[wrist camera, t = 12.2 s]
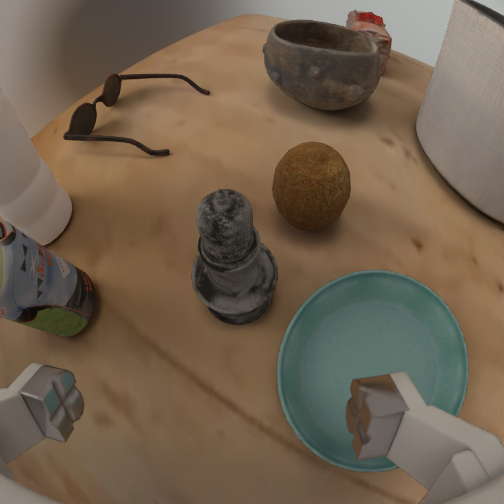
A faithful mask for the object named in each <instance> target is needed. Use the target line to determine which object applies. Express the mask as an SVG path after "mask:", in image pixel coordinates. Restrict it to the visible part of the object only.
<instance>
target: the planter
mask: <svg viewBox="0 0 504 504" xmlns="http://www.w3.org/2000/svg"><path fill="white" fill-rule="evenodd" d="M416 132H417V136H418V139H419V142H420V144H421V147H422V149H423V151H424V152H425V154H426V156H427V157H428V159H429V160H430V162H431V163H432V165H433V166H434V168H435V169H436V170H437V172H438V173H439V174H440V176H441V177H442V178H443V179H444V180H445V181H446V182H447V183H448V184H449V185H450V186H451V187H452V189H453V190H454V191H455V192H456V193H457V194H459V195H460V196H461V197H462V198H463V199H464V200H466V201H467V202H468V203H469V204H471V205H472V206H473V207H475V208H476V209H477V210H479V211H480V212H482V213H483V214H485V215H487V216H489V217H490V218H492V219H494V220H496V221H498V222H501V223H503V224H504V16H503V15H501V14H499V13H498V12H496V11H494V10H492V9H490V8H488V7H486V6H484V5H482V4H480V3H478V2H475V1H473V0H454V4H453V9H452V12H451V16H450V20H449V23H448V27H447V30H446V34H445V37H444V41H443V44H442V47H441V50H440V53H439V56H438V59H437V62H436V65H435V68H434V71H433V74H432V76H431V79H430V82H429V85H428V87H427V90H426V93H425V95H424V98H423V101H422V103H421V106H420V109H419V112H418V115H417V120H416Z"/></svg>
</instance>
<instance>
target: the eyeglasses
mask: <svg viewBox="0 0 504 504" xmlns="http://www.w3.org/2000/svg"><path fill="white" fill-rule="evenodd" d="M145 78H179V79H183V80H185V81H186V82H187V83H189V84H190V85H191V86H192V87H194V88H195V89H196V90H197V91H199V92H201V93H203V94H206V95H209V94H210V92H209V91H207V90H205V89H202V88H200V87H199V86H197V85H196V84H195V83H194V82H193V81H191V80H190V79H189V78H187V77H185V76H183V75H178V74H130V75H120V76H119V75H118V74H111V75H110V76H109V77H108V78H107V80H106V82H105V84H104V88H103V92H102V95H101V96H99V97H98V98H96V99H95V101H94V102H93V104H90V103H84V104H82V105H80V106H79V107H78V108H77V109H76V110H75V111H74V113H73V115H72V118H71V122H70V127H69V130H68V131H67V132H66V133H65V134H64V136H63V138H64V139H65V140H81V141H115V142H125V143H130V144H133V145H135V146H137V147H138V148H140V149H141V150H143V151H144V152H146V153H148V154H149V155H153V156H159V155H167V154H169V150H168V149H165V150H151V149H149V148H147V147H146V146H144V145H143V144H141V143H139V142H138V141H135V140H133V139H130V138H124V137H113V136H99V135H89V134H90V133H91V132H92V130H93V128H94V126H95V123H96V118H97V112H96V103H97V102H100V101H101V102H103V103H104V104H105V105H106V106H107V107H111V106H113V105H114V104H115V103H116V101H117V99H118V97H119V94H120V89H121V81H122V79H123V80H127V79H145Z"/></svg>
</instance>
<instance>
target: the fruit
mask: <svg viewBox="0 0 504 504" xmlns="http://www.w3.org/2000/svg"><path fill="white" fill-rule="evenodd" d="M272 191H273V197H274V199H275V202H276V205H277V208H278V210H279V212H280V213H281V214H282V215H283V216H284V218H285V219H286V220H287V221H288V222H289V223H290V224H292V225H294V226H296V227H298V228H300V229H305V230H315V229H320V228H323V227H325V226H327V225H329V224H330V223H332V222H333V221H335V220H336V219H337V218H338V217H339V216H340V215H341V213H342V211H343V210H344V208H345V206H346V204H347V202H348V200H349V197H350V192H351V186H350V172H349V169H348V167H347V165H346V163H345V161H344V160H343V158H342V156H341V155H340V154H339V153H338V152H337V151H336V150H334V149H333V148H332V147H330V146H328V145H325V144H323V143H317V142H307V143H302V144H300V145H298V146H296V147H294V148H292V149H290V150H289V151H288V152H287V153H286V154H285V155H284V157H283V158H282V159H281V160H280V162H279V163H278V165H277V167H276V169H275V174H274V180H273V187H272Z"/></svg>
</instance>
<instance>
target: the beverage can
mask: <svg viewBox="0 0 504 504" xmlns="http://www.w3.org/2000/svg"><path fill="white" fill-rule="evenodd" d="M94 300H95V295H94V288H93V284H92V282H91V280H90V278H89V276H88V275H87V274H86V273H85V272H83V271H82V270H80V269H78V268H77V267H75V266H74V265H72V264H70V263H69V262H67V261H65V260H64V259H62V258H61V257H59V256H57V255H56V254H54V253H53V252H51V251H50V250H48V249H47V248H45V247H44V246H42V245H40V244H39V243H37V242H36V241H34V240H33V239H31V238H30V237H29V236H27V235H26V234H24V233H23V232H21V231H20V230H18V229H17V228H15V227H14V226H13V225H11V224H10V223H8V222H6V221H0V317H3V318H6V319H9V320H11V321H14V322H17V323H20V324H23V325H26V326H30V327H33V328H36V329H39V330H42V331H46V332H49V333H52V334H56V335H59V336H63V337H69V336H73V335H75V334H77V333H78V332H80V331H81V330H82V329H83V328H84V327H85V325H86V324H87V323H88V321H89V319H90V317H91V314H92V311H93V307H94Z"/></svg>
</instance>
